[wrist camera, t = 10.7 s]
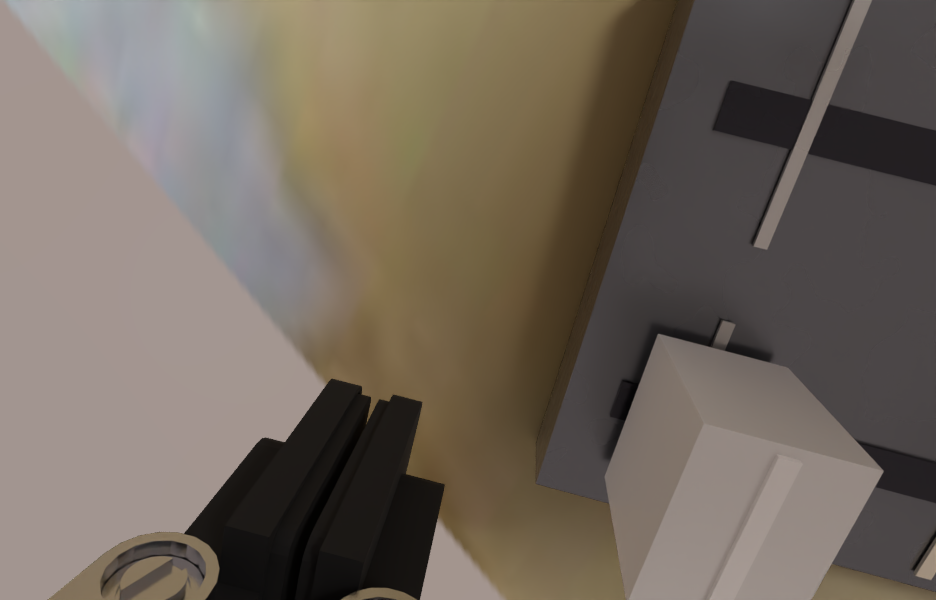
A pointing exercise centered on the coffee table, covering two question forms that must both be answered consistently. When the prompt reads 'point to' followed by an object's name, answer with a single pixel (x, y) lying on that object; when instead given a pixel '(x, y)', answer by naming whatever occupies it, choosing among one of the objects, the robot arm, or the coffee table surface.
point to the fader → (730, 480)
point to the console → (778, 244)
